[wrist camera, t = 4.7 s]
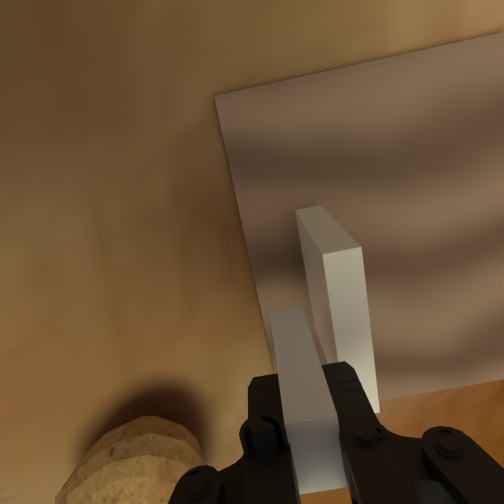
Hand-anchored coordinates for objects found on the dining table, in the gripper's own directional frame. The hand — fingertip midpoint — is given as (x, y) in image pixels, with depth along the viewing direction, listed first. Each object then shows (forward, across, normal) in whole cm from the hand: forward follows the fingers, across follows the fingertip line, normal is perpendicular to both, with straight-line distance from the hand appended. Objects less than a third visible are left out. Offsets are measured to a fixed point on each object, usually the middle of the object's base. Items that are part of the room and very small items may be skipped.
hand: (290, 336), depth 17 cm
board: (+8, +6, 0) cm, 10 cm away
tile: (+7, +2, 0) cm, 7 cm away
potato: (+8, -12, -13) cm, 20 cm away
